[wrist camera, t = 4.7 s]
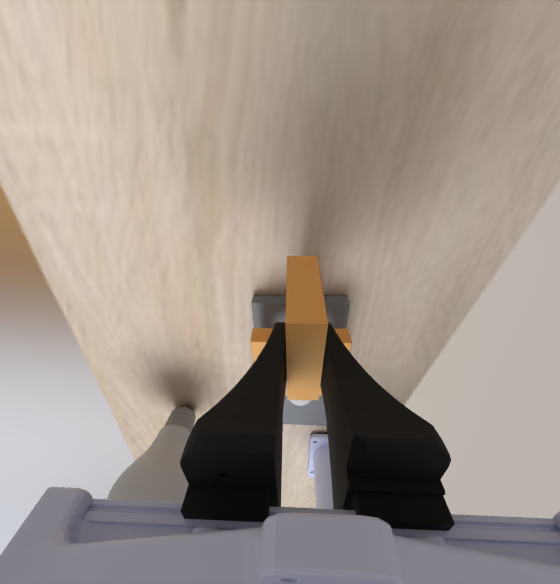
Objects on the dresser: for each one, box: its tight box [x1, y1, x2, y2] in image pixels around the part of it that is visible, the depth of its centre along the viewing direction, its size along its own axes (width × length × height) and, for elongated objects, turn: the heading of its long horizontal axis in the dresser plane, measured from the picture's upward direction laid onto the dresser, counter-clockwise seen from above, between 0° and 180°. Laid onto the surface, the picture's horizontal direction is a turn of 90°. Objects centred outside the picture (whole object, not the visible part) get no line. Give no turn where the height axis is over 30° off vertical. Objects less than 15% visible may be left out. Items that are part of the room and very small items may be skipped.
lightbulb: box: [108, 406, 196, 503], centre depth 22 cm, size 6×6×11 cm
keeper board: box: [252, 296, 349, 425], centre depth 20 cm, size 15×7×6 cm, turn 1°
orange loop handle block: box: [251, 256, 352, 400], centre depth 15 cm, size 12×6×5 cm, turn 1°
